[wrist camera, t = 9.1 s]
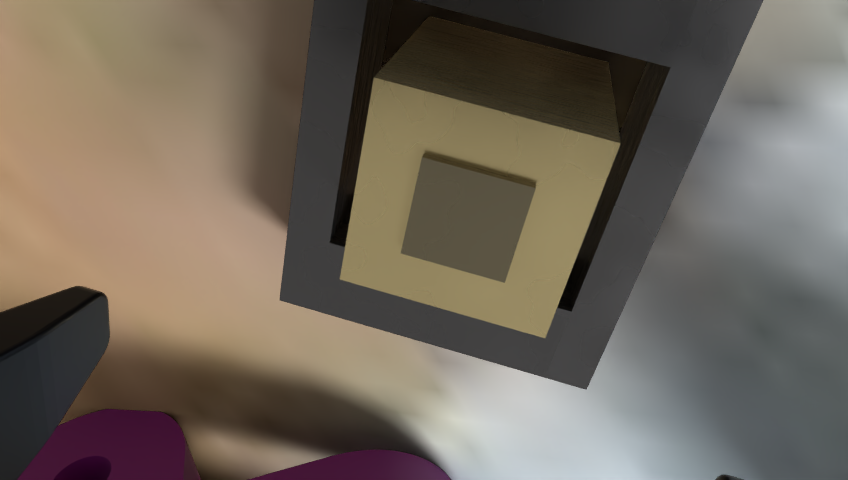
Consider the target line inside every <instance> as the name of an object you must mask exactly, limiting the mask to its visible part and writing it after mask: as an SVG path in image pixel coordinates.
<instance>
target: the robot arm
mask: <svg viewBox="0 0 848 480" xmlns="http://www.w3.org/2000/svg"><path fill="white" fill-rule="evenodd" d="M109 338H110V328H109V310H108V299H107V297H106V295H105V294H104V293H102V292H100V291H97V290H93V289H90V288H87V287H83V286H75V287H71V288H68V289H65V290H62V291H60V292H57V293H54V294H51V295H48V296H45V297H42V298H40V299H37V300H34V301H31V302H28V303H25V304H23V305H20V306H17V307H14V308H11V309H8V310H5V311H3V312H0V480H17V479H18V478H19V476H20V475H21V474H22V473H23V471H24V470H25V469H26V468H27V466H28V465H29V464H30V463H31V461H32V460H33V459H34V458H35V456H36V455H37V454H38V453H39V451H40V450H41V449H42V447H43V446H44V445H45V443H46V442H47V441H48V439H49V438H50V437H51V435H52V434H53V432H54V431H55V429H56V428H57V426H58V425H59V423H60V422H61V420H62V418H63V417H64V415H65V414H66V412H67V411H68V409H69V407H70V406H71V404H72V403H73V401H74V400H75V398H76V396H77V395H78V393H79V392H80V390H81V389H82V387H83V385H84V384H85V382H86V381H87V379H88V378H89V376H90V374H91V373H92V371H93V370H94V368H95V366H96V365H97V363H98V362H99V360H100V359H101V357H102V355H103V354H104V352H105V350H106V348H107V346H108V343H109ZM715 480H743V479H740V478H737V477H733V476H730V475H720V476H718V477H717V478H716V479H715Z"/></svg>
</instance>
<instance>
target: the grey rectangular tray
mask: <svg viewBox="0 0 848 480" xmlns="http://www.w3.org/2000/svg"><path fill="white" fill-rule="evenodd" d="M413 1H417V2H421V3H425V4H429V5H433V6H436V7H440V8H444V9H448V10H452V11H456V12H459V13H463V14H467V15H471V16H475V17H479V18H483V19H486V20H490V21H494V22H498V23H502V24H506V25H509V26H513V27H517V28H521V29H525V30H529V31H533V32H536V33H540V34H544V35H548V36H552V37H556V38H559V39H563V40H567V41H571V42H575V43H579V44H583V45H586V46H590V47H594V48H598V49H602V50H606V51H609V52H613V53H617V54H621V55H625V56H629V57H633V58H636V59H640V60H644V61H647V63H646V66H645V69H644V71H643V74H642V76H641V79H640V82H639V84H638V87H637V89H636V92H635V95H634V97H633V100H632V102H631V105H630V108H629V110H628V113H627V115H626V118H625V121H624V123H623V126H622V128H621V131H620V134H619V136H620V142H621V144H620V146H619V149H618V151H617V154H616V157H615V159H614V162H613V164H612V167H611V170H610V172H609V175H608V177H607V180H606V182H605V185H604V188H603V190H602V193H601V195H600V198H599V201H598V203H597V206H596V208H595V211H594V213H593V216H592V219H591V221H590V224H589V226H588V229H587V232H586V234H585V237H584V239H583V242H582V245H581V247H580V250H579V252H578V255H577V257H576V260H575V263H574V265H573V268H572V270H571V273H570V276H569V278H568V281H567V283H566V286H565V288H564V291H563V294H562V296H561V299H560V301H559V304H558V307H557V309H556V312H555V314H554V317H553V319H552V322H551V325H550V327H549V330H548V332H547V335H546V338H542V337H539V336H535V335H532V334H528V333H525V332H521V331H518V330H514V329H511V328H507V327H504V326H500V325H497V324H493V323H490V322H486V321H483V320H479V319H476V318H472V317H469V316H465V315H462V314H459V313H455V312H452V311H448V310H445V309H441V308H438V307H434V306H431V305H427V304H424V303H420V302H417V301H413V300H410V299H406V298H403V297H399V296H396V295H392V294H389V293H385V292H382V291H378V290H375V289H371V288H368V287H364V286H361V285H357V284H354V283H351V282H347V281H344V280H340V275H341V269H342V263H343V257H344V251H345V245H346V239H347V233H348V227H349V221H350V216H351V210H352V204H353V198H354V192H355V186H356V180H357V174H358V168H359V162H360V157H361V151H362V145H363V139H364V133H365V127H366V121H367V115H368V109H369V103H370V98H371V92H372V86H373V80H374V77H375V76H376V75H377V73H378V72H379V71H380V70H381V67H382V61H383V55H384V50H385V44H386V38H387V32H388V27H389V21H390V15H391V10H392V4H393V0H314V7H313V15H312V24H311V32H310V41H309V50H308V58H307V67H306V76H305V84H304V93H303V102H302V110H301V119H300V128H299V136H298V145H297V154H296V162H295V171H294V179H293V188H292V197H291V205H290V214H289V223H288V231H287V240H286V249H285V257H284V266H283V275H282V283H281V292H280V300H281V301H284V302H287V303H291V304H294V305H298V306H301V307H305V308H308V309H311V310H315V311H318V312H322V313H325V314H329V315H332V316H335V317H339V318H342V319H346V320H349V321H353V322H356V323H359V324H363V325H366V326H370V327H373V328H377V329H380V330H383V331H387V332H390V333H394V334H397V335H401V336H404V337H408V338H411V339H414V340H418V341H421V342H425V343H428V344H432V345H435V346H438V347H442V348H445V349H449V350H452V351H456V352H459V353H462V354H466V355H469V356H473V357H476V358H480V359H483V360H486V361H490V362H493V363H497V364H500V365H504V366H507V367H510V368H514V369H517V370H521V371H524V372H528V373H531V374H534V375H538V376H541V377H545V378H548V379H552V380H555V381H558V382H562V383H565V384H569V385H572V386H576V387H579V388H583V389H587V387H588V385H589V383H590V380H591V378H592V376H593V374H594V372H595V369H596V367H597V365H598V363H599V361H600V358H601V356H602V354H603V352H604V350H605V347H606V345H607V343H608V341H609V339H610V336H611V334H612V332H613V330H614V328H615V325H616V323H617V321H618V319H619V317H620V314H621V312H622V310H623V308H624V306H625V303H626V301H627V299H628V297H629V295H630V292H631V290H632V288H633V286H634V284H635V281H636V279H637V277H638V275H639V273H640V270H641V268H642V266H643V264H644V262H645V259H646V257H647V255H648V253H649V251H650V248H651V246H652V244H653V242H654V240H655V237H656V235H657V233H658V231H659V229H660V226H661V224H662V222H663V220H664V218H665V215H666V213H667V211H668V209H669V207H670V204H671V202H672V200H673V198H674V196H675V194H676V191H677V189H678V187H679V185H680V183H681V180H682V178H683V176H684V174H685V172H686V169H687V167H688V165H689V163H690V161H691V158H692V156H693V154H694V152H695V150H696V147H697V145H698V143H699V141H700V139H701V136H702V134H703V132H704V130H705V128H706V125H707V123H708V121H709V119H710V117H711V114H712V112H713V110H714V108H715V106H716V103H717V101H718V99H719V97H720V95H721V92H722V90H723V88H724V86H725V84H726V81H727V79H728V77H729V75H730V73H731V70H732V68H733V66H734V64H735V62H736V59H737V57H738V55H739V53H740V51H741V48H742V46H743V44H744V42H745V40H746V37H747V35H748V33H749V31H750V29H751V26H752V24H753V22H754V20H755V18H756V15H757V13H758V11H759V9H760V7H761V4H762V2H763V0H413Z"/></svg>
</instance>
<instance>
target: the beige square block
mask: <svg viewBox="0 0 848 480" xmlns="http://www.w3.org/2000/svg"><path fill="white" fill-rule="evenodd" d="M620 144H621V142H620V136H619V129H618V122H617V116H616V109H615V102H614V96H613V89H612V82H611V76H610V69H609V63H608V62H605V61H602V60H598V59H594V58H590V57H586V56H582V55H578V54H575V53H571V52H567V51H563V50H559V49H555V48H551V47H548V46H544V45H540V44H536V43H532V42H528V41H525V40H521V39H517V38H513V37H509V36H505V35H501V34H498V33H494V32H490V31H486V30H482V29H478V28H474V27H471V26H467V25H463V24H459V23H455V22H451V21H447V20H444V19H440V18H436V17H432V16H429V17H428V18H427V19H426V20H425V21H424V22H423V23H422V25H421V26H420V27H419V28H418V29H417V30H416V31H415V32H414V33H413V35H412V36H411V37H410V38H409V39H408V40H407V41H406V42H405V43H404V45H403V46H402V47H401V48H400V49H399V50H398V51H397V52H396V53H395V55H394V56H393V57H392V58H391V59H390V60H389V61H388V62H387V63H386V65H385V66H384V67H383V68H382V69H381V70H380V71H379V72H378V73H377V75H376V76H375V77H374V80H373V86H372V92H371V98H370V103H369V109H368V115H367V121H366V127H365V133H364V139H363V145H362V151H361V157H360V162H359V168H358V174H357V180H356V186H355V192H354V198H353V204H352V210H351V216H350V221H349V227H348V233H347V239H346V245H345V251H344V257H343V263H342V269H341V275H340V280H344V281H347V282H351V283H354V284H357V285H361V286H364V287H368V288H371V289H375V290H378V291H382V292H385V293H389V294H392V295H396V296H399V297H403V298H406V299H410V300H413V301H417V302H420V303H424V304H427V305H431V306H434V307H438V308H441V309H445V310H448V311H452V312H455V313H459V314H462V315H465V316H469V317H472V318H476V319H479V320H483V321H486V322H490V323H493V324H497V325H500V326H504V327H507V328H511V329H514V330H518V331H521V332H525V333H528V334H532V335H535V336H539V337H542V338H546V335H547V332H548V330H549V327H550V325H551V322H552V319H553V317H554V314H555V312H556V309H557V307H558V304H559V301H560V299H561V296H562V294H563V291H564V288H565V286H566V283H567V281H568V278H569V276H570V273H571V270H572V268H573V265H574V263H575V260H576V257H577V255H578V252H579V250H580V247H581V245H582V242H583V239H584V237H585V234H586V232H587V229H588V226H589V224H590V221H591V219H592V216H593V213H594V211H595V208H596V206H597V203H598V201H599V198H600V195H601V193H602V190H603V188H604V185H605V182H606V180H607V177H608V175H609V172H610V170H611V167H612V164H613V162H614V159H615V157H616V154H617V151H618V149H619V146H620Z"/></svg>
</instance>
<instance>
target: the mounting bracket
mask: <svg viewBox="0 0 848 480" xmlns="http://www.w3.org/2000/svg"><path fill="white" fill-rule="evenodd" d="M17 480H201V479H200V476H199V473H198V471H197V468H196V466H195V463H194V460H193V458H192V455H191V453H190V450H189V448H188V445H187V442H186V440H185V437H184V435H183V432H182V430H181V428H180V426H179V425H178V424H177V422H176V421H175V420H174V419H172V418H171V417H170V416H168V415H167V414H165V413H163V412H156V411H137V410H118V409H105V410H101V411H97V412H93V413H90V414H86V415H83V416H80V417H78V418H75V419H72V420H70V421H68V422H65V423H63V424H61V425H59V426H57V428H56V429H55V431H54V432H53V434H52V435H51V437H50V438H49V439H48V441H47V442H46V443H45V445H44V446H43V447H42V449H41V450H40V451H39V453H38V454H37V455H36V456H35V458H34V459H33V460H32V461H31V463H30V464H29V465H28V466H27V468H26V469H25V470H24V471H23V473H22V474H21V475H20V476H19V478H18V479H17ZM248 480H451V479H450V478H449V477H448V475H447V474H446V473H445V472H444V471H443V470H442V469H441V468H439V467H438V466H436V465H435V464H433V463H431V462H430V461H428V460H425V459H423V458H421V457H418V456H415V455H412V454H409V453H404V452H399V451H391V450H360V451H353V452H347V453H342V454H338V455H334V456H330V457H327V458H323V459H319V460H316V461H312V462H309V463H305V464H302V465H298V466H294V467H291V468H287V469H284V470H280V471H277V472H273V473H270V474H266V475H262V476H259V477H255V478H252V479H248Z"/></svg>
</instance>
